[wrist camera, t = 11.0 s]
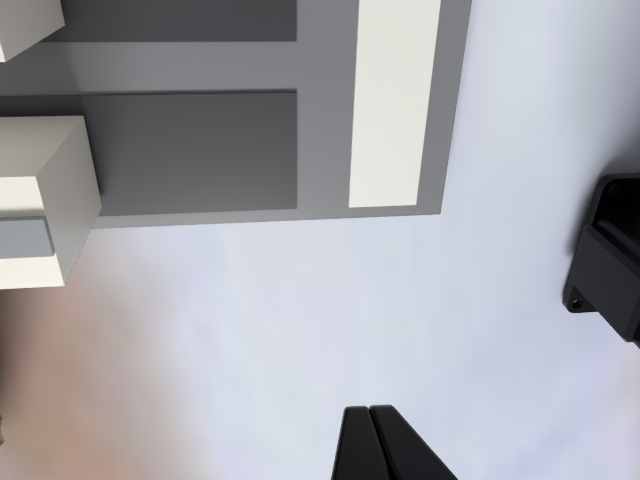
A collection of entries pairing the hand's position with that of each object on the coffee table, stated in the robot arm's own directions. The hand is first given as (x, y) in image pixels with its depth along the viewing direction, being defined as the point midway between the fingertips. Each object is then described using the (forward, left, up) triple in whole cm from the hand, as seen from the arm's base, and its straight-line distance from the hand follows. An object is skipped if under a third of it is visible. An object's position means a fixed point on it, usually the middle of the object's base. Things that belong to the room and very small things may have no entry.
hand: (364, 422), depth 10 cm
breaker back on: (+8, -1, -10) cm, 13 cm away
